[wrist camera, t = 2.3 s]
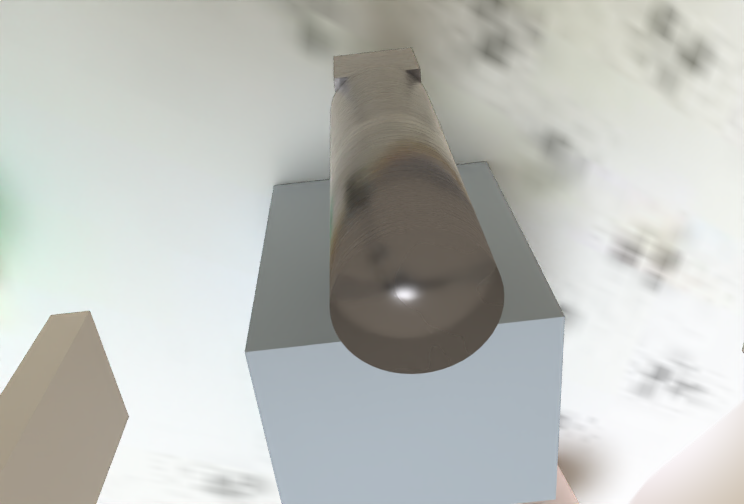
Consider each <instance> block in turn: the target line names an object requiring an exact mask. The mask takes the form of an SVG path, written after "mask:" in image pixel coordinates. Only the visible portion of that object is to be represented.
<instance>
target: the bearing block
mask: <svg viewBox="0 0 744 504" xmlns="http://www.w3.org/2000/svg"><path fill="white" fill-rule="evenodd" d="M456 166H457V168H458V171H459V173H460V176H461V178H462V181H463V183H464V186H465V188H466V191H467V193H468V196H469V198H470V201H471V203H472V206H473V208H474V211H475V213H476V216H477V218H478V221H479V223H480V226H481V228H482V231H483V233H484V235H485V238H486V240H487V243H488V245H489V248H490V250H491V253H492V255H493V258H494V260H495V263H496V265H497V268H498V270H499V273H500V275H501V278H502V282H503V286H504V307H503V311H502V315H501V318H500V320H499V323H498V325H497V327H496V329H495V330H494V332H493V334H492V335H491V336H490V338H489V339H488V340H487V341H486V342H485V343H484V344H483V346H482V347H481V348H480V349H478V350H477V351H476V352H475V353H473V354H472V355H471V356H469V357H468V358H466V359H465V360H463V361H461V362H459V363H457V364H455V365H453V366H450V367H448V368H445V369H442V370H438V371H434V372H429V373H422V374H400V373H394V372H389V371H385V370H381V369H378V368H376V367H373V366H371V365H369V364H367V363H365V362H363V361H361V360H360V359H359V358H357V357H356V356H354V355H353V354H352V353H351V352H350V351H349V350H348V349H347V348H346V347H345V346H344V345H343V343H342V342H341V341H340V339H339V337H338V336H337V334H336V332H335V330H334V327H333V325H332V321H331V317H330V306H329V299H330V179H328V180H319V181H310V182H301V183H292V184H283V185H275V186H274V187H273V193H272V199H271V205H270V210H269V216H268V222H267V228H266V233H265V239H264V245H263V251H262V256H261V262H260V268H259V274H258V279H257V285H256V291H255V297H254V302H253V308H252V314H251V320H250V325H249V331H248V337H247V343H246V348H245V355H246V359H247V363H248V367H249V372H250V376H251V380H252V384H253V388H254V392H255V396H256V400H257V404H258V409H259V413H260V417H261V421H262V425H263V429H264V433H265V437H266V441H267V445H268V450H269V454H270V458H271V462H272V466H273V470H274V474H275V478H276V482H277V487H278V491H279V495H280V499H281V503H282V504H518V503H527V502H536V501H545V500H555V499H556V484H557V463H558V443H559V423H560V403H561V383H562V363H563V343H564V323H565V316H564V314H563V312H562V310H561V308H560V306H559V304H558V302H557V300H556V298H555V296H554V294H553V292H552V290H551V288H550V286H549V284H548V282H547V280H546V278H545V276H544V274H543V272H542V270H541V268H540V267H539V265H538V263H537V261H536V259H535V257H534V255H533V253H532V251H531V249H530V247H529V245H528V243H527V241H526V239H525V237H524V235H523V233H522V231H521V229H520V227H519V225H518V223H517V221H516V219H515V217H514V215H513V213H512V211H511V209H510V207H509V205H508V203H507V201H506V199H505V197H504V195H503V193H502V191H501V189H500V187H499V185H498V183H497V182H496V180H495V178H494V176H493V174H492V172H491V170H490V168H489V166H488V164H487V162H478V163H469V164H461V165H456Z"/></svg>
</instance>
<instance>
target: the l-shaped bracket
mask: <svg viewBox="0 0 744 504" xmlns="http://www.w3.org/2000/svg"><path fill="white" fill-rule="evenodd" d="M333 60H334V85H335V92H336V93H335V95H334V97H333V100H332V104H331V111H330V299H329V306H330V317H331V321H332V325H333V327H334V330H335V332H336V334H337V336H338V337H339V339H340V341H341V342H342V343H343V345H344V346H345V347H346V348H347V349H348V350H349V351H350V352H351V353H352V354H353V355H354V356H356V357H357V358H359V359H360V360H361V361H363V362H365V363H367V364H369V365H371V366H373V367H376V368H378V369H381V370H385V371H389V372H394V373H400V374H422V373H429V372H434V371H438V370H442V369H445V368H448V367H450V366H453V365H455V364H457V363H459V362H461V361H463V360H465V359H466V358H468V357H469V356H471V355H472V354H473V353H475V352H476V351H477V350H478V349H480V348H481V347H482V346H483V344H484V343H485V342H486V341H487V340H488V339H489V338H490V336H491V335H492V334H493V332H494V330H495V329H496V327H497V325H498V323H499V320H500V318H501V315H502V311H503V307H504V286H503V282H502V278H501V275H500V273H499V270H498V268H497V265H496V263H495V260H494V258H493V255H492V253H491V250H490V248H489V245H488V243H487V240H486V238H485V235H484V233H483V231H482V228H481V226H480V223H479V221H478V218H477V216H476V213H475V211H474V208H473V206H472V203H471V201H470V198H469V196H468V193H467V191H466V188H465V186H464V183H463V181H462V178H461V176H460V173H459V171H458V168H457V166H456V163H455V161H454V158H453V156H452V154H451V151H450V149H449V146H448V144H447V141H446V139H445V136H444V134H443V131H442V129H441V126H440V124H439V121H438V119H437V116H436V114H435V111H434V109H433V106H432V104H431V101H430V99H429V96H428V94H427V92H426V90H425V88H424V86H423V85H422V84H421V75H420V67H419V65H418V62H417V60H416V57H415V55H414V53H413V50H412V48H403V49H394V50H385V51H377V52H368V53H359V54H350V55H341V56H333Z"/></svg>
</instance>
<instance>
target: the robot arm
mask: <svg viewBox="0 0 744 504" xmlns="http://www.w3.org/2000/svg"><path fill="white" fill-rule="evenodd" d="M742 352H743V353H744V344H743V348H742ZM128 417H129V416H128V413H127V410H126V408H125V405H124V402H123V400H122V397H121V394H120V391H119V389H118V386H117V383H116V380H115V378H114V375H113V372H112V370H111V367H110V364H109V361H108V359H107V356H106V353H105V350H104V348H103V345H102V342H101V340H100V337H99V334H98V331H97V329H96V326H95V323H94V321H93V318H92V315H91V312H90V311H83V312H74V313H65V314H56V315H51V316H50V317H49V319H48V320H47V322H46V324H45V325H44V327H43V328H42V330H41V332H40V333H39V335H38V336H37V338H36V339H35V341H34V343H33V344H32V346H31V347H30V349H29V351H28V352H27V354H26V355H25V357H24V359H23V360H22V362H21V363H20V365H19V366H18V368H17V370H16V371H15V373H14V374H13V376H12V378H11V379H10V381H9V382H8V384H7V386H6V387H5V389H4V390H3V392H2V393H1V395H0V504H96V503H97V500H98V497H99V495H100V492H101V489H102V487H103V484H104V481H105V479H106V476H107V473H108V471H109V468H110V465H111V463H112V460H113V457H114V455H115V452H116V449H117V447H118V444H119V441H120V439H121V436H122V433H123V431H124V428H125V425H126V423H127V420H128Z"/></svg>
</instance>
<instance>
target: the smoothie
mask: <svg viewBox="0 0 744 504" xmlns="http://www.w3.org/2000/svg"><path fill="white" fill-rule="evenodd" d="M518 504H579V502H578V500H577V498H576V497H575V495H574V493H573V491H572V489H571V488H570V486H569V484H568V482H567V480H566V478H565V477H564V475H563V473H562V471H561V469H560V468H559V466H558V464H557V484H556V499H555V500H545V501H536V502H527V503H518Z"/></svg>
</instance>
